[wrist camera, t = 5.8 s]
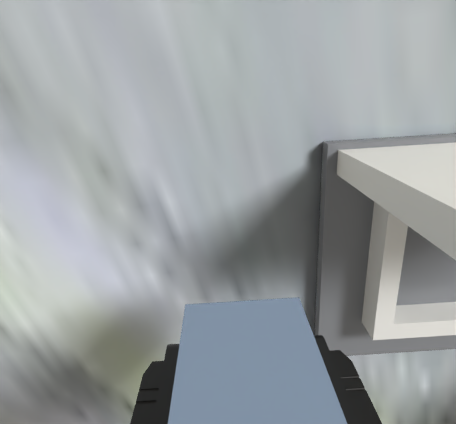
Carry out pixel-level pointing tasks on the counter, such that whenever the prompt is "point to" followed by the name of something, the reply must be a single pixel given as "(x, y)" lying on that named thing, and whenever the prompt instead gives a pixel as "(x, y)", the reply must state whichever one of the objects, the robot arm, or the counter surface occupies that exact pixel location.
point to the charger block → (251, 367)
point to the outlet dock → (387, 245)
